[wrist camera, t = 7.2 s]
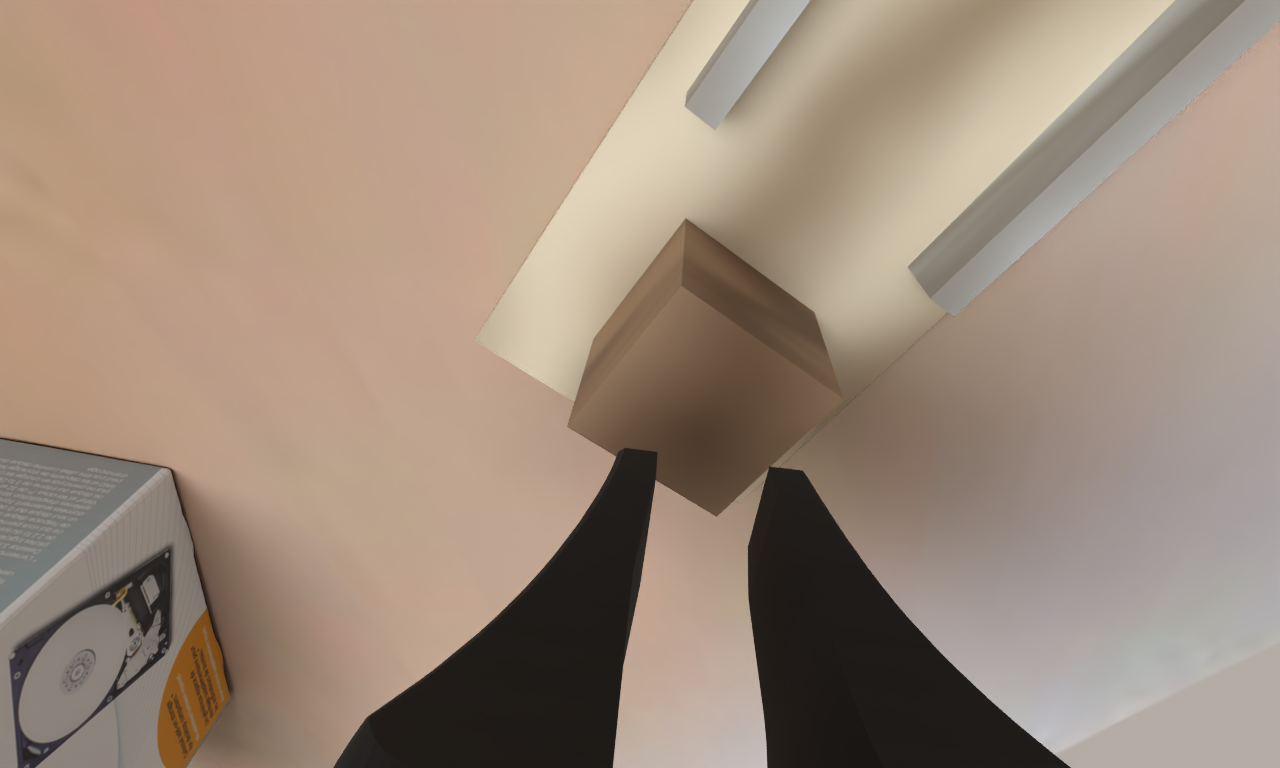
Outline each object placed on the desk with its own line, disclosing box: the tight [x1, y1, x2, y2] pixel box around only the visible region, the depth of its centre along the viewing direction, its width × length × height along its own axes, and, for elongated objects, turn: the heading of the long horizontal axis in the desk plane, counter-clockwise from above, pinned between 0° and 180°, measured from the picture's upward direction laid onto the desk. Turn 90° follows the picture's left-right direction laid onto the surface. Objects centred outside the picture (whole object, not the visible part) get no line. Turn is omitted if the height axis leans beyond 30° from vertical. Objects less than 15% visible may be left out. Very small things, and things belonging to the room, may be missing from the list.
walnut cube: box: [567, 218, 843, 517], centre depth 17 cm, size 4×4×4 cm
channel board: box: [474, 0, 1280, 503], centre depth 15 cm, size 10×26×4 cm, turn 145°
